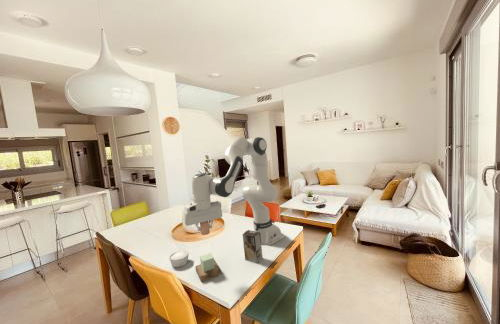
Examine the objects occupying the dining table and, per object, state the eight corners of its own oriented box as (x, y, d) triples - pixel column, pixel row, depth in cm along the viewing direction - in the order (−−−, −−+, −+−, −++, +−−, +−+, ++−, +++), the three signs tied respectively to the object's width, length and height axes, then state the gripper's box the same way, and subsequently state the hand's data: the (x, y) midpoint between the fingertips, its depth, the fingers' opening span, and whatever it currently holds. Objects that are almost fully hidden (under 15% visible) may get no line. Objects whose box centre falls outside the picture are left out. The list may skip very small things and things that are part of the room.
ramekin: (173, 259, 133) (172, 251, 132) (191, 256, 134) (190, 249, 133) (167, 269, 122) (166, 261, 121) (187, 267, 123) (186, 258, 122)
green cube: (211, 262, 119) (210, 252, 119) (214, 268, 114) (213, 257, 113) (201, 266, 116) (199, 256, 116) (203, 272, 111) (202, 261, 111)
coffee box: (263, 258, 125) (260, 232, 123) (257, 263, 120) (255, 236, 118) (250, 254, 130) (248, 229, 128) (244, 259, 125) (242, 234, 123)
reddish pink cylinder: (208, 230, 116) (207, 220, 115) (210, 233, 112) (209, 222, 111) (200, 232, 114) (198, 222, 113) (202, 235, 110) (201, 224, 109)
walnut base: (214, 264, 123) (214, 259, 122) (221, 274, 113) (220, 268, 113) (196, 271, 118) (195, 266, 118) (201, 281, 108) (200, 276, 108)
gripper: (218, 199, 119) (221, 222, 120) (181, 206, 110) (184, 232, 111) (222, 201, 113) (225, 226, 115) (184, 209, 104) (186, 236, 105)
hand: (204, 229), depth 113 cm, fingers closed on reddish pink cylinder, 5 cm apart
